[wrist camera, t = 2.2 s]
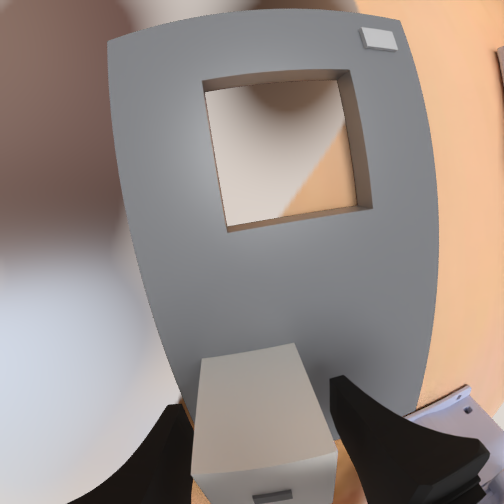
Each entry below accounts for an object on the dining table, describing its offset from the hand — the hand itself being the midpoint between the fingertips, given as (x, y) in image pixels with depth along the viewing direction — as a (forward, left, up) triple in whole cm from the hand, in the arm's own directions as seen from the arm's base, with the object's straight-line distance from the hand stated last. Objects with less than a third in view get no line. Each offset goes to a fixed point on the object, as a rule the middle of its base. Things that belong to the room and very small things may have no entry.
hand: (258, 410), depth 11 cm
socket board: (-3, -5, -3) cm, 7 cm away
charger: (0, 0, -2) cm, 2 cm away
